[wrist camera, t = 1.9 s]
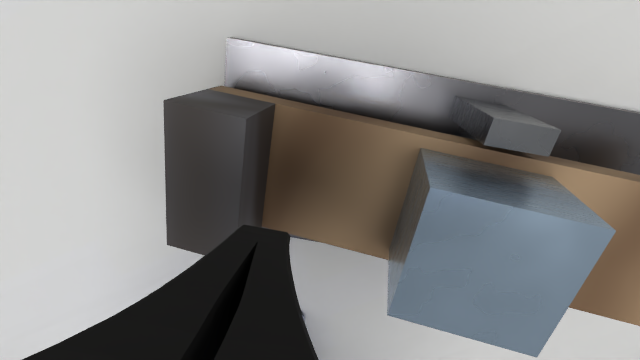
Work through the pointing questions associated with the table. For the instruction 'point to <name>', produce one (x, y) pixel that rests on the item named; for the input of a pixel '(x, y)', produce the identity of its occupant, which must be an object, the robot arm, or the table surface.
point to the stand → (440, 104)
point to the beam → (354, 182)
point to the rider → (490, 251)
